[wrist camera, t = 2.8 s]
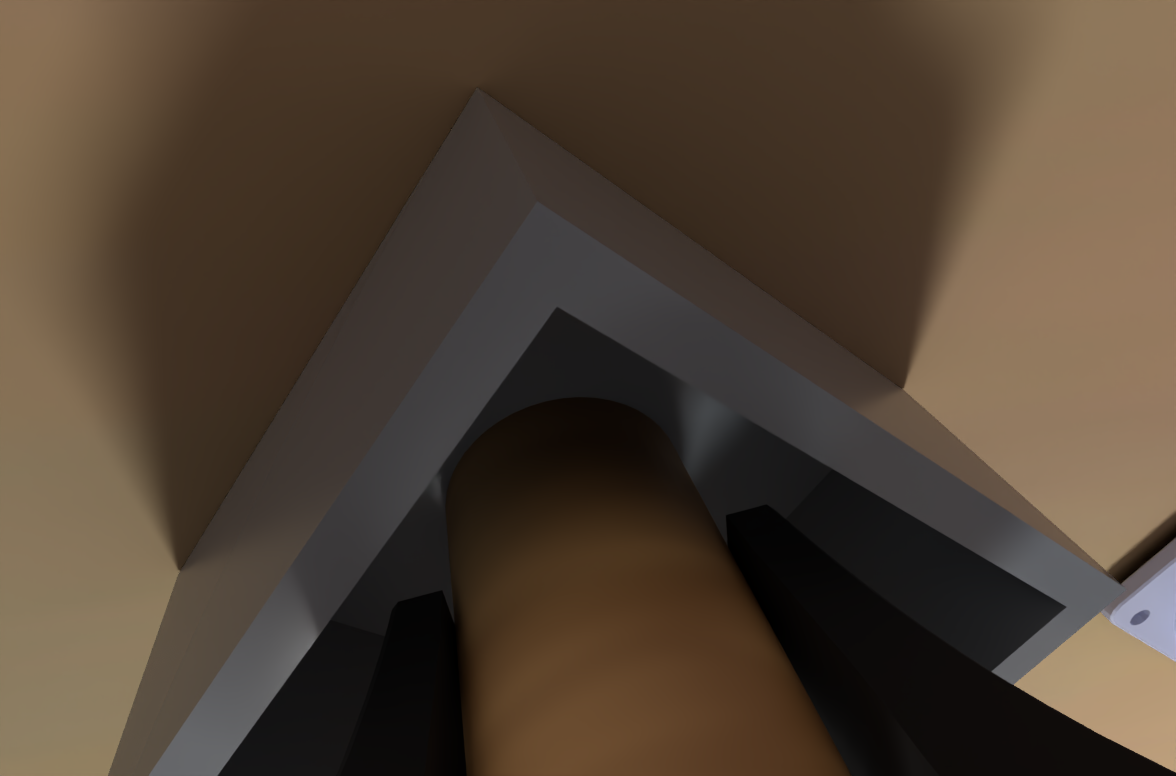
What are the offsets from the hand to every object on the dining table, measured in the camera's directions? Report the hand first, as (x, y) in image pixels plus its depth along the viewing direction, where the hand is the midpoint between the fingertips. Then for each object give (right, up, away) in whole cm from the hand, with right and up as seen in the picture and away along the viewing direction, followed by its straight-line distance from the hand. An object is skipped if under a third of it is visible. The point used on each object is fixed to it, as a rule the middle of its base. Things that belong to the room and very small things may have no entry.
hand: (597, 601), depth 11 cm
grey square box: (-1, +1, +2) cm, 3 cm away
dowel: (0, +1, +2) cm, 2 cm away
